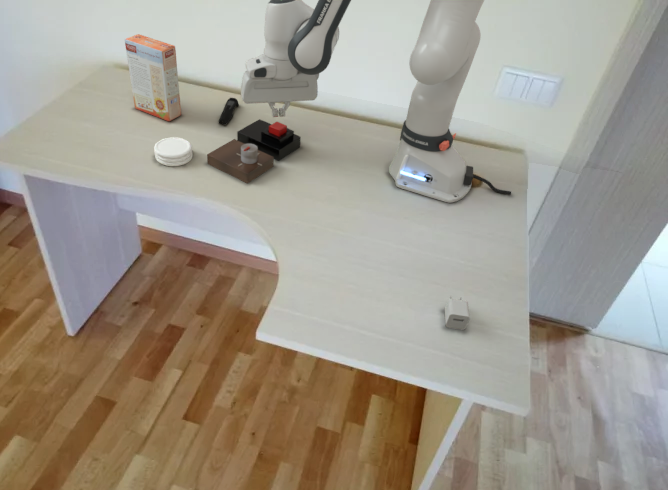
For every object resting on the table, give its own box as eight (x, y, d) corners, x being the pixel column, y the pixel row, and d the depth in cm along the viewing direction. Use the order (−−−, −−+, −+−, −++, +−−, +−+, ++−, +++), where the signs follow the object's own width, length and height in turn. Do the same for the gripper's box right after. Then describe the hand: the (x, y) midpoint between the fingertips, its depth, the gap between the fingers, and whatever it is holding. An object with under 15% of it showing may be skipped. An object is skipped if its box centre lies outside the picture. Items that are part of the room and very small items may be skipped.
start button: (286, 132, 149) (287, 125, 148) (278, 137, 147) (279, 130, 145) (276, 128, 150) (276, 121, 149) (268, 132, 148) (268, 125, 147)
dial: (247, 153, 144) (247, 140, 141) (260, 158, 142) (261, 146, 139) (237, 160, 141) (237, 147, 138) (251, 165, 139) (251, 153, 137)
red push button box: (299, 147, 153) (301, 130, 150) (278, 161, 147) (279, 143, 144) (259, 130, 159) (259, 112, 155) (237, 142, 153) (237, 125, 149)
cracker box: (182, 115, 163) (176, 45, 148) (169, 122, 159) (161, 51, 144) (148, 101, 168) (138, 32, 153) (134, 108, 164) (123, 38, 149)
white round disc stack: (199, 153, 148) (199, 142, 145) (179, 171, 141) (178, 159, 138) (169, 144, 150) (167, 132, 148) (147, 160, 144) (146, 149, 141)
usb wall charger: (444, 327, 107) (450, 313, 104) (443, 302, 112) (448, 289, 109) (464, 330, 107) (470, 316, 104) (462, 305, 112) (468, 292, 109)
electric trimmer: (215, 127, 159) (214, 117, 157) (227, 103, 170) (227, 94, 168) (227, 129, 159) (227, 119, 156) (239, 105, 170) (239, 96, 167)
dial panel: (274, 167, 145) (274, 156, 143) (248, 184, 139) (248, 173, 136) (234, 148, 151) (234, 138, 149) (207, 164, 144) (206, 153, 142)
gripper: (316, 58, 140) (312, 108, 149) (239, 61, 136) (239, 112, 145) (323, 68, 136) (318, 119, 145) (243, 71, 131) (243, 123, 141)
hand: (278, 115), depth 145 cm, fingers closed
